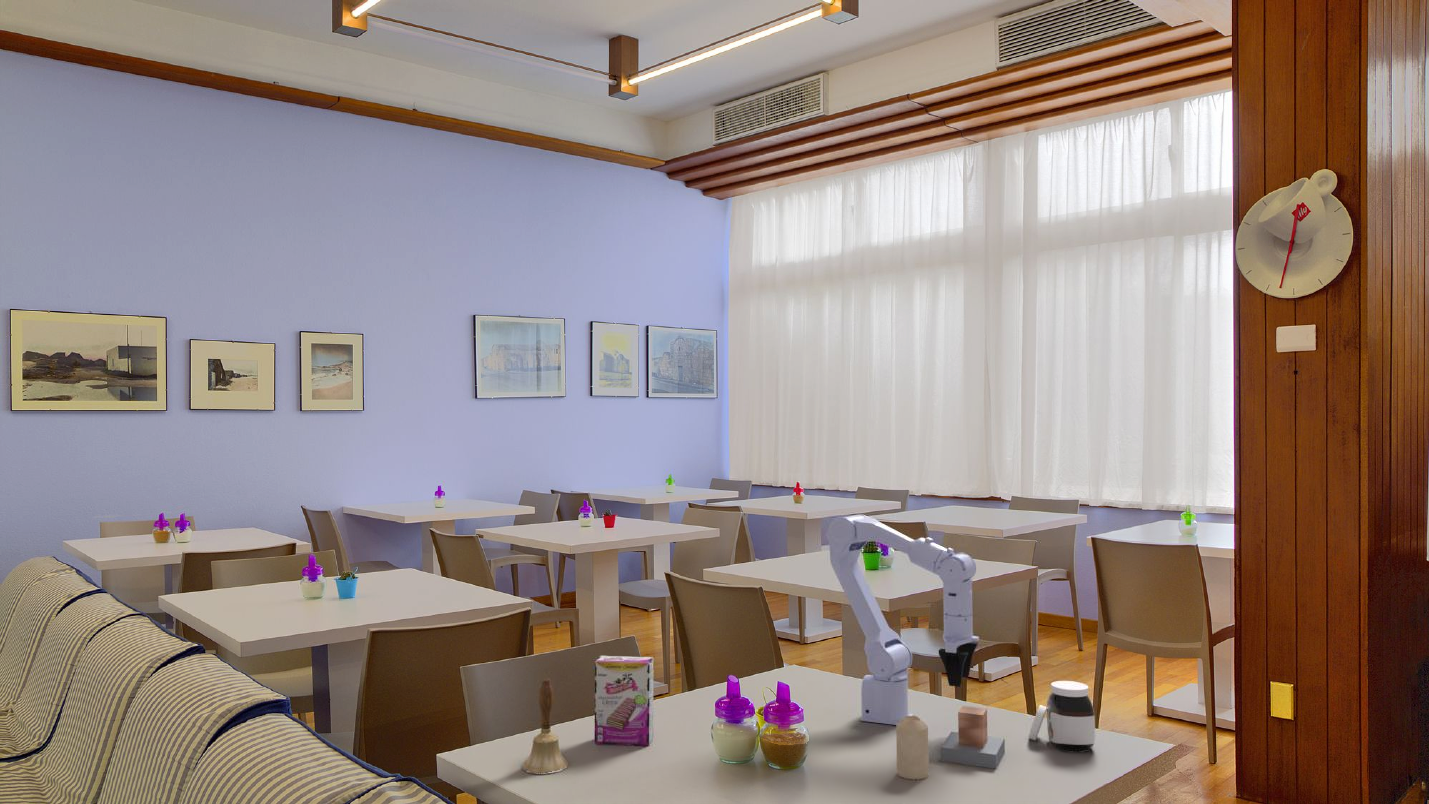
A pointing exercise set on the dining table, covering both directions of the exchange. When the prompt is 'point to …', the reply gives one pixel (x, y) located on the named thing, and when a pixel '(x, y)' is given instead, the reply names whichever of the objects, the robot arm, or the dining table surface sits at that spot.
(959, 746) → the base
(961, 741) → the block
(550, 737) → the hand bell
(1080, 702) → the spread jar
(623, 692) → the candy bar box
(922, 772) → the candle
